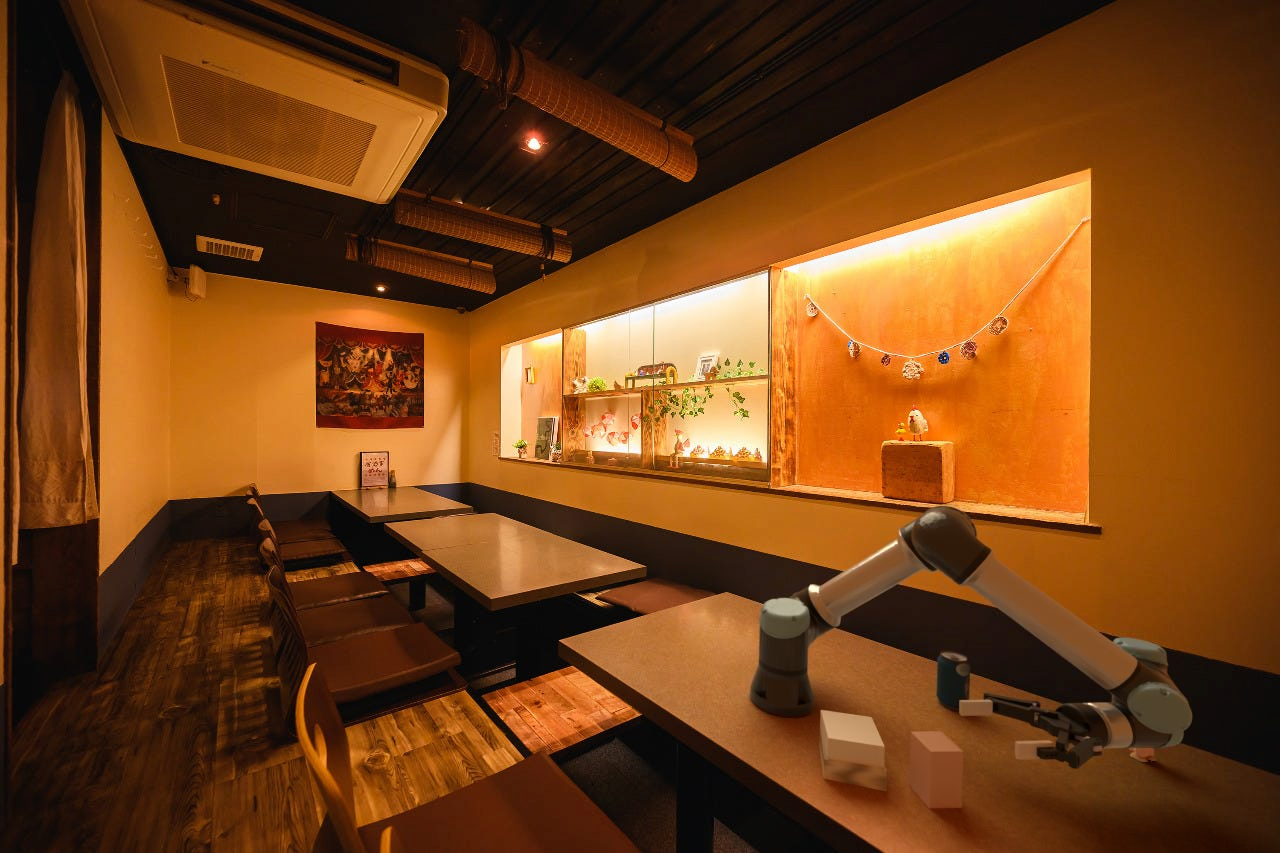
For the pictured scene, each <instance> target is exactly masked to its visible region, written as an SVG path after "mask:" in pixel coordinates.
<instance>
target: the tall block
mask: <svg viewBox="0 0 1280 853" xmlns="http://www.w3.org/2000/svg"><path fill="white" fill-rule="evenodd" d="M909 736H910V738H909V739H910V740H909V763H908V764H909V766H908V771H909V772H908V785H909V787H910V788H911V789H912V790H913V792H915V794H916V795H917V796H918V797H919V798H920V799H921V801H922V802H923V803H924V804H925V805H926V806H927V807H928V809H962V805H963V804H962V799H963V798H962V797H963V796H962V794H963V774H964V773H963V772H964V771H963V767H964V766H963V765H964V764H963V763H964V751H963V749H961V748H960V747H959V746H958V745H957V744H956V743H954V742H953V741H952V740H951V739H950V738H949V737H948V736H946V734H944V733H943V732H942V731H939V730H938V731H937V730H936V731H933V730H930V731H910V734H909Z"/></svg>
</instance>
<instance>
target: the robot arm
mask: <svg viewBox="0 0 1280 853" xmlns="http://www.w3.org/2000/svg"><path fill="white" fill-rule="evenodd" d="M976 528H977V527H976V526H975V524H974V522H973V521H972V519H971V517H970V516H969V515H967V513H965V512H964V511H963V510H961V509H958V508H957V507H954V506H950V505H936V506H935V505H934V506H933V507H931V508H929V509H927V510H926V511H924V512H923V513H922V514H921V515H919V516H917V518H915V519H914V520H912V521H910V522H909V523H907V524H906V525H903V526H902V527H901V528H899V529H898V535H897V538H896V539H894V540H893V541H891V542H889V543H888V544H885V546H883V547H881V548H880V549H877V551H875V552H873V553H871V554H870V555H868V556H867V557H865V558H863V559H862V560H859V562H857V563H856V564H854V565H852V566H851V567H849V568H848V569H846V570H844V571H842V572H841V573H839V574H838V575H836V576H835V577H832V578H831V579H829V580H828V581H826V582H825V583H823V584H821V585H818V584H814V583H812V584H809V585H808V586H806V587H805V588H803V589H801V590H800V591H797V592H795V593H793V594H792V595H790V596H789V597H777V598H771V599H769V600H767V601H765V602H764V603H763V604H762V606H761V608H760V614H759V618H758V623H759V629H758V630H759V633H758V637H759V639H758V666H757V668H756V669H755V670H756V671H755V673H754V675H753V678H752V680H751V683H750V686H749V687H750V690H749V691H750V692H749V697H750V700H751V701H752V703H753V704H754V705H755V706H757V708H759V709H761V710H763V711H764V712H766V713H770V714H772V715H775V716H779V717H783V718H784V717H785V718H801V717H804V716H807V715H809V714H811V713H812V712H813V711H814V708H815V695H814V692H813V687H812V684H811V681H810V676H809V674H808V670H809V669H808V668H809V666H808V665H809V648H810V646H811V645H812V644H813V643H814V641H815V640H817V639H818V638H820V637H821V636H823V635H824V634H826V633H827V632H829V631H832V630H833V629H835V628H837V627H838V626H840V624H841V618H842V617H843V616H845V615H846V614H848V613H850V612H851V611H854V610H855V609H856V608H858V607H860V606H862V605H864V604H866V603H867V602H869V601H871V600H872V599H874V598H876V597H877V596H880V595H881V594H883V593H884V592H886V591H888V590H890V589H891V588H893V587H895V586H896V585H898V584H900V583H902V582H904V581H906V580H908V579H910V577H912V576H914V575H916V574H918V573H919V572H922V571H926V572H930V573H935V572H936V571H939V572H941V574H943V575H944V576H946V577H948V578H949V579H951V580H952V581H953V582H954V583H956V584H957V585H958V586H960V587H969V588H970V589H972V590H973V591H975V592H976V593H977V594H978V595H980V596H981V597H982V598H984V599H985V600H986V601H988V602H989V603H990V604H992V605H993V606H995V607H996V608H997V609H999V611H1001V612H1002V613H1004V614H1005V615H1007V616H1008V617H1009V618H1010V619H1011V620H1013V621H1014V622H1016V623H1017V624H1018V625H1019V626H1021V627H1023V628H1024V629H1025V630H1026V631H1027V632H1029V633H1030V634H1031V635H1033V636H1034V637H1036V639H1038V640H1040V641H1041V642H1043V643H1044V644H1045V645H1046V646H1047V647H1049V648H1050V649H1052V650H1053V651H1054V652H1055V653H1057V654H1058V655H1060V657H1062V658H1063V659H1064V660H1066V661H1067V662H1068V663H1070V664H1072V666H1074V667H1075V668H1077V669H1078V670H1080V671H1081V672H1082V673H1083V674H1085V675H1086V676H1087V677H1089V678H1090V679H1091V680H1093V681H1094V683H1096V684H1097V685H1099V686H1101V687H1102V688H1103V689H1105V690H1106V691H1107V692H1108V693H1110V694H1111V701H1110V702H1067V703H1062V704H1060V705H1059V706H1058V708H1056V709H1055V710H1053V709H1049V708H1047V709H1044V708H1042V706H1041V702H1040V701H1038V700H1029V699H1022V698H1021V699H1020V698H1015V697H1010V696H1005V695H999V694H995V693H994V694H993V693H989V692H983V696H982V697H983V698H982V699H969V700H959V710H958V711H959V712H958V713H959V715H960V716H961V717H967V716H968V717H970V716H972V717H973V716H990V717H991V716H993V714H995V715H1000V716H1003V717H1006V718H1011V719H1013V720H1018V721H1021V722H1023V723H1027V724H1029V725H1030V727H1032V728H1036V729H1039V730H1040V729H1041V730H1043V731H1045V732H1047V733H1048V734H1049V735H1050V736H1052V737H1055V738H1056V739H1055V745H1054V742H1052V741H1051V740H1046V739H1045V740H1015V741H1014V758H1016V759H1017V760H1018V761H1019V760H1045V761H1046V760H1057V761H1058V762H1061V763H1064V762H1066V763H1067V764H1068V766H1069V768H1071V769H1073V770H1077V769H1080V767H1082V766H1083V765H1084V764H1085V763H1087V762H1088V761H1089V760H1090V759H1092V758H1093V757H1098V756H1099V757H1100V756H1102V755H1103V749H1105V750H1107V749H1129V748H1154V749H1162V748H1167V747H1169V748H1170V747H1173V746H1176V745H1179V744H1180V743H1181V742H1182V741H1183V738H1184V731H1185V730H1187V729H1188V728H1189V727H1190V726H1191V724H1192V721H1193V712H1192V709H1191V707H1190V705H1189V701H1188V699H1187V697H1185V695H1184V694H1183V692H1181V691H1180V690H1179V688H1178V686H1176V684H1175V682H1174V681H1173V679H1172V678H1171V677H1170V675H1169V674H1168V667H1169V663H1168V659H1167V658H1168V657H1167V651H1166V650H1165V649H1164V648H1162V647H1161V646H1160V645H1159V644H1156V643H1152V642H1151V641H1147V640H1144V639H1143V640H1142V639H1138V638H1134V637H1133V638H1132V637H1116V638H1115V639H1113V641H1112V640H1110V639H1109V638H1108V637H1106V636H1105V635H1103V634H1102V633H1101V632H1099V631H1098V630H1096V629H1095V628H1094V627H1092V626H1091V625H1089V624H1088V623H1086V622H1085V621H1084V620H1082V618H1080V617H1078V616H1077V615H1075V614H1074V613H1073V612H1071V611H1069V609H1067V608H1066V607H1064V606H1063V605H1061V604H1060V603H1059V602H1057V601H1055V600H1054V599H1053V598H1052V597H1050V596H1049V595H1047V594H1046V593H1045V592H1043V591H1041V590H1040V589H1039V588H1037V587H1036V586H1035V585H1034V584H1032V583H1030V582H1029V581H1028V580H1026V579H1024V577H1022V576H1020V575H1019V574H1018V573H1016V572H1015V571H1014V570H1012V569H1011V568H1009V567H1008V566H1006V565H1005V564H1004V563H1002V562H1001V561H999V560H998V559H997V558H996V557H995V554H994V553H995V552H994V550H993V549H991V548H990V547H989V546H987V545H986V544H985V543H983V542H982V541H981V540H980V539H978V533H977V529H976ZM1036 716H1038V720H1037V721H1034V717H1036ZM1070 744H1071V745H1073V747H1071V748H1070V749H1069V747H1070Z"/></svg>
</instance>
